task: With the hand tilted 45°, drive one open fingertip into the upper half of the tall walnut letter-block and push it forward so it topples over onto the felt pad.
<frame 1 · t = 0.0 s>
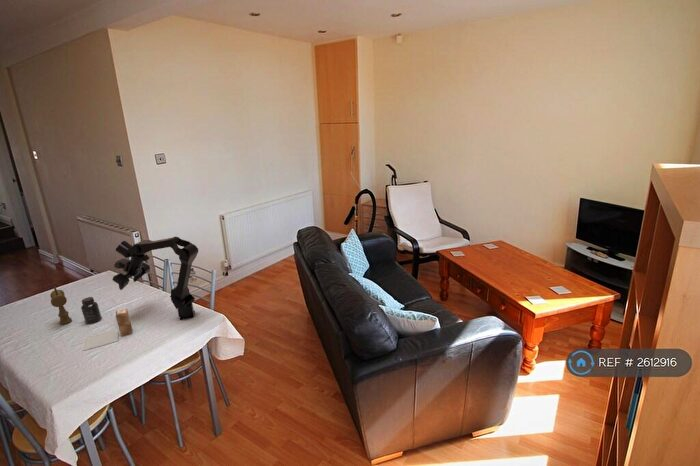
hand: (127, 285, 186), 15 cm above the table, tool tilted 35°, fingers open, 9 cm apart
walnut block: (126, 332, 172), on the table
supplement bottle: (93, 320, 183), on the table
kendama: (66, 322, 182), on the table
felt pad: (101, 339, 167), on the table
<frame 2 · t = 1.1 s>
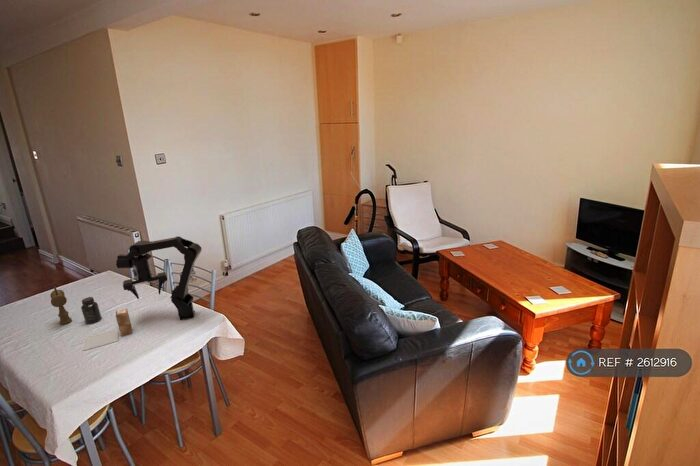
hand: (149, 296, 180), 12 cm above the table, tool pointing down, fingers open, 9 cm apart
nothing on the table moved.
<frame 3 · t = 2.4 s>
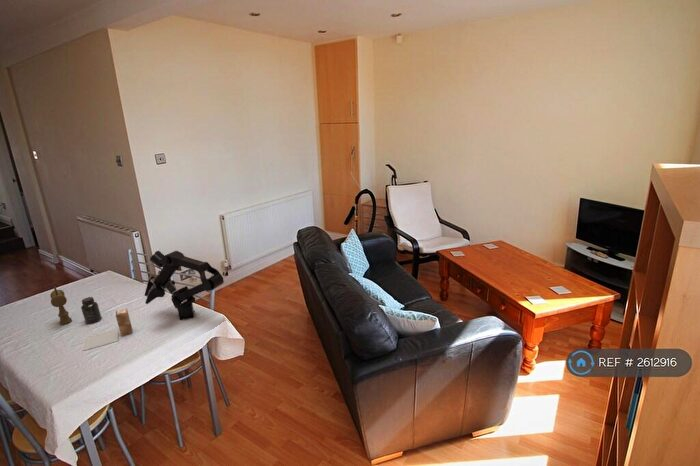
hand: (145, 299, 176), 12 cm above the table, tool tilted 45°, fingers open, 9 cm apart
nothing on the table moved.
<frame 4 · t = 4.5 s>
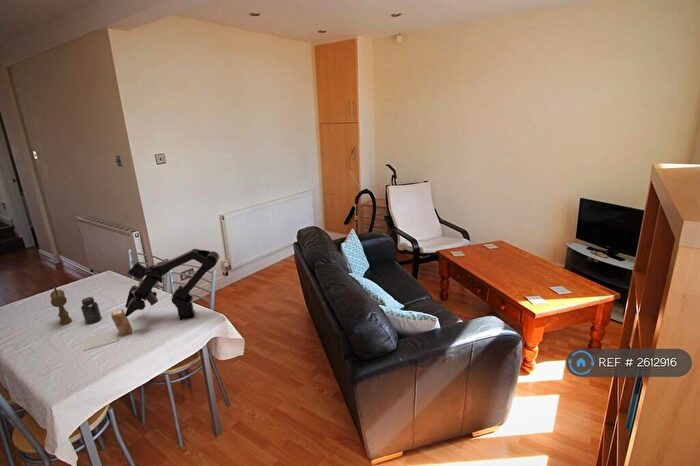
hand: (126, 311, 174), 8 cm above the table, tool tilted 45°, fingers open, 9 cm apart
walnut block: (126, 331, 172), on the table, tilted 9°
everything else where it was.
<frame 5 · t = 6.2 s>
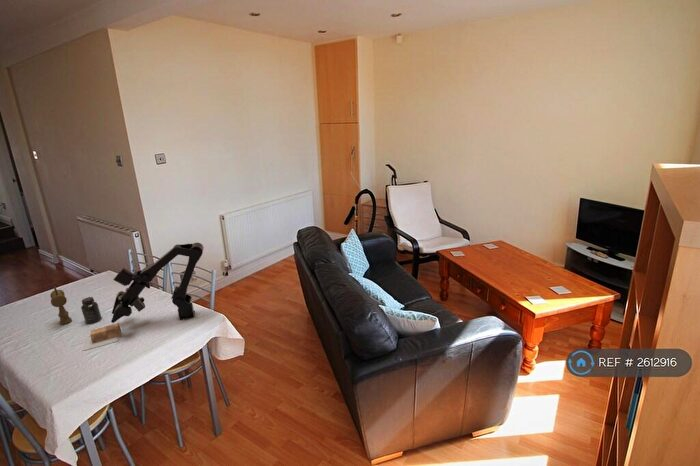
hand: (112, 318, 171), 7 cm above the table, tool tilted 45°, fingers open, 9 cm apart
walnut block: (120, 329, 170), point 3 cm above the table, tilted 90°, touching felt pad
everything else where it was.
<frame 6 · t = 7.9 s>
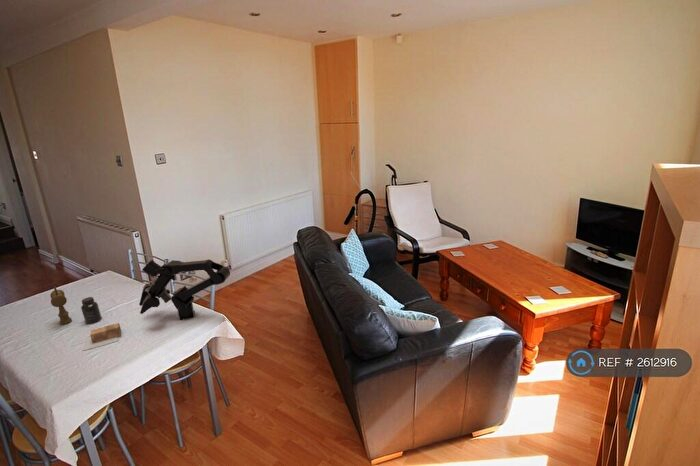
hand: (140, 309, 176), 8 cm above the table, tool tilted 45°, fingers open, 9 cm apart
nothing on the table moved.
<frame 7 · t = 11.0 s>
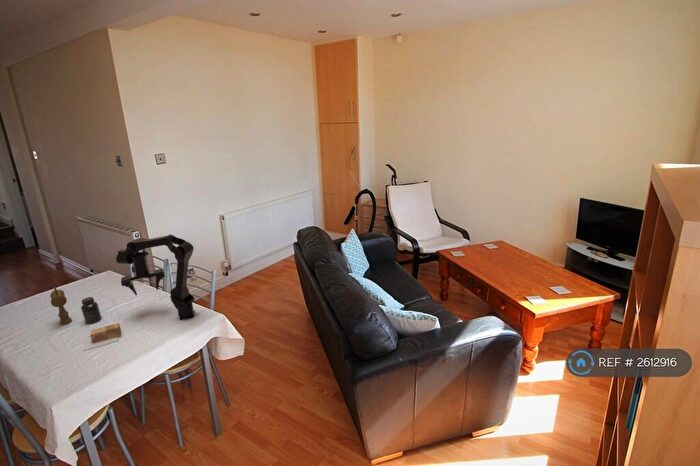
hand: (146, 292, 184), 12 cm above the table, tool pointing down, fingers open, 9 cm apart
nothing on the table moved.
at the end: walnut block tilted 90°; walnut block moved 3.4 cm from its start; walnut block inside the target area (11.0 cm from its centre), point 2.5 cm above the table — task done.
